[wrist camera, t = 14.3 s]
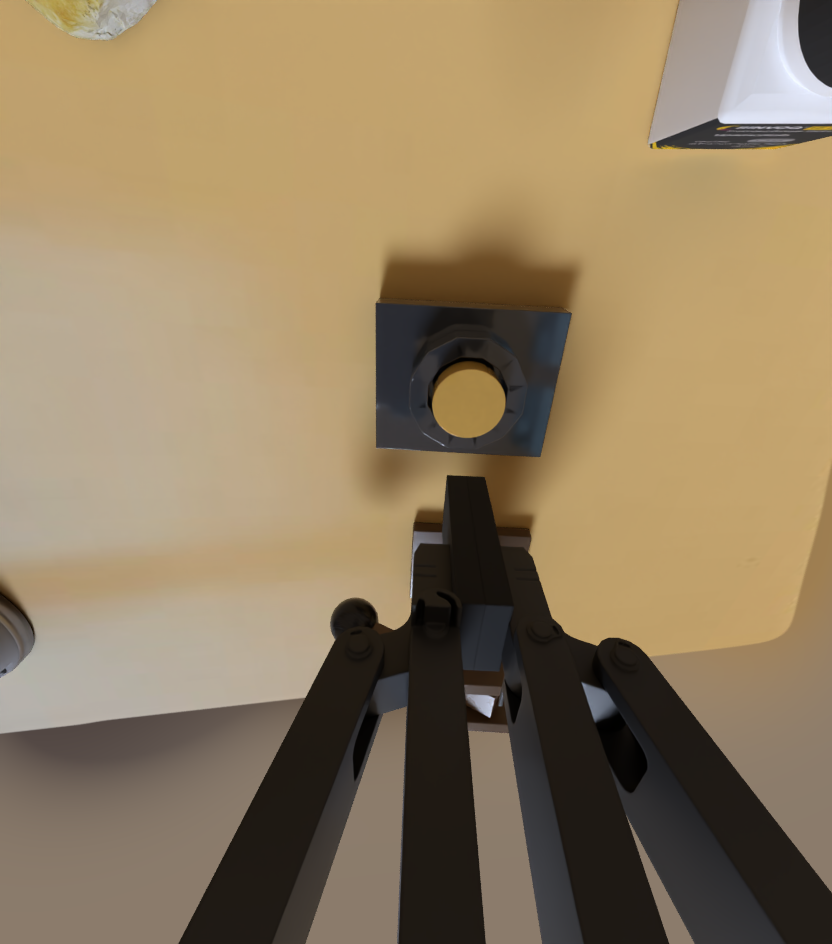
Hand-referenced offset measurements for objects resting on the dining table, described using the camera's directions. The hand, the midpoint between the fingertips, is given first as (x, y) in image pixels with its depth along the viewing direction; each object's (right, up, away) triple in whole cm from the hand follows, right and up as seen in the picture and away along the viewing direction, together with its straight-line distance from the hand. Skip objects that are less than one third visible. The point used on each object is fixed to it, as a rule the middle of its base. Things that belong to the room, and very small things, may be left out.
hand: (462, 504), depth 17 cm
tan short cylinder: (+1, +6, +10) cm, 12 cm away
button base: (+1, +8, +13) cm, 15 cm away
